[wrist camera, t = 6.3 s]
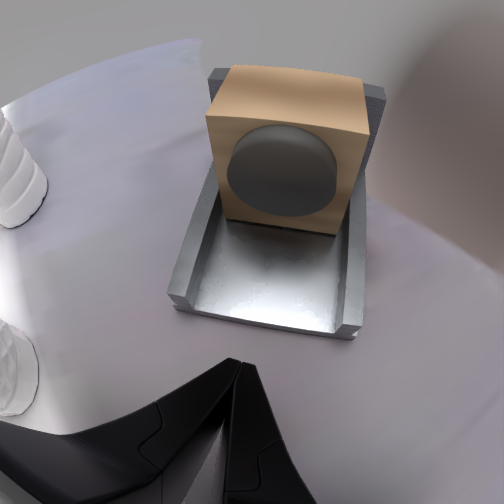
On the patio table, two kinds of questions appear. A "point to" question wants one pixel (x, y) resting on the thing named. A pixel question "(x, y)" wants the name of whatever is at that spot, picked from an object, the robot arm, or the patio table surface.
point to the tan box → (287, 145)
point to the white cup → (16, 371)
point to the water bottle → (18, 179)
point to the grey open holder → (277, 259)
